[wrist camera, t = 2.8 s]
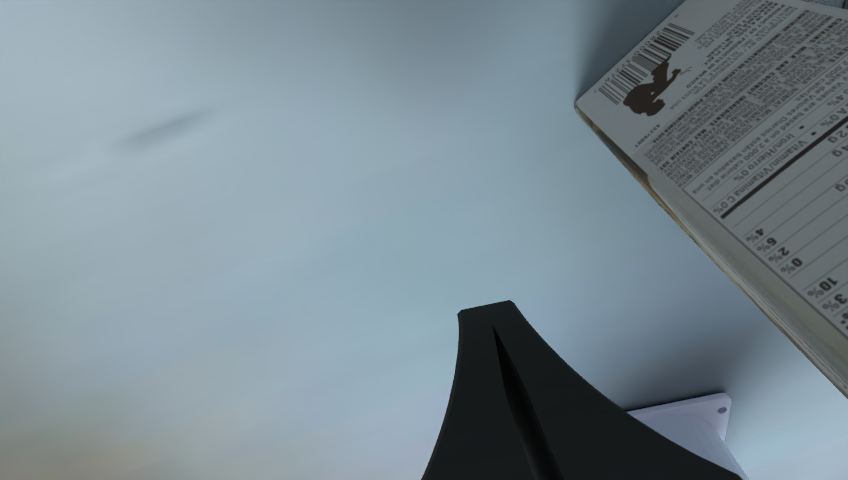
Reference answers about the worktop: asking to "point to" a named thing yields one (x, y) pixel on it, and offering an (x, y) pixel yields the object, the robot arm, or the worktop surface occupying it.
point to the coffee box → (747, 152)
